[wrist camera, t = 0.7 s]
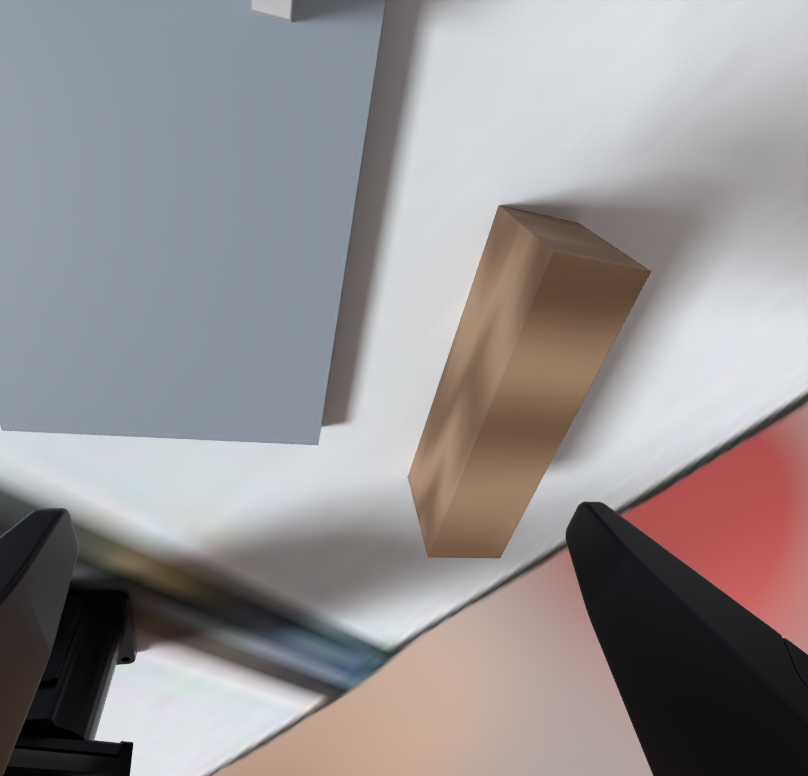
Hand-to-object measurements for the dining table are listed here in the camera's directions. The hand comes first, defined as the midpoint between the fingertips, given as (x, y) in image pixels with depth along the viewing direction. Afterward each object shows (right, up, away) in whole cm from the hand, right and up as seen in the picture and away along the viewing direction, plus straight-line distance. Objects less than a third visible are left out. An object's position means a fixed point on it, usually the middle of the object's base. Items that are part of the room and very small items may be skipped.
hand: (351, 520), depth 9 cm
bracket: (-7, +9, +7) cm, 13 cm away
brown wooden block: (+4, +3, +14) cm, 15 cm away
